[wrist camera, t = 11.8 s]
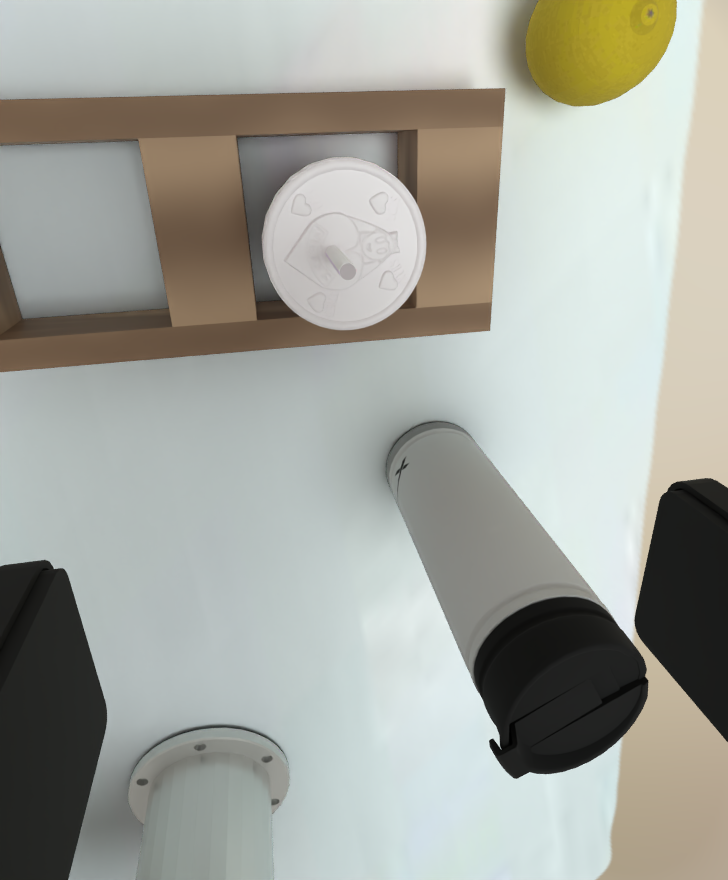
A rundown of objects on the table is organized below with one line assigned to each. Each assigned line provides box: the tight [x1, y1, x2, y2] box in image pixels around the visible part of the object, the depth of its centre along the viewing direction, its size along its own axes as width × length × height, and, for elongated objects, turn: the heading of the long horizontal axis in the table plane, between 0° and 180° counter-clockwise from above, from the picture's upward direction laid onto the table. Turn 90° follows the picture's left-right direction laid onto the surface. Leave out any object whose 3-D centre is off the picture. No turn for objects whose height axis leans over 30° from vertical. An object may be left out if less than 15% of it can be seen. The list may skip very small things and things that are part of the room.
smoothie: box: [262, 157, 426, 330], centre depth 25 cm, size 6×6×14 cm
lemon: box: [526, 0, 677, 106], centre depth 26 cm, size 6×6×8 cm
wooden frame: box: [0, 88, 505, 372], centre depth 28 cm, size 11×28×4 cm, turn 92°
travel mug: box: [386, 422, 648, 779], centre depth 30 cm, size 6×7×20 cm
